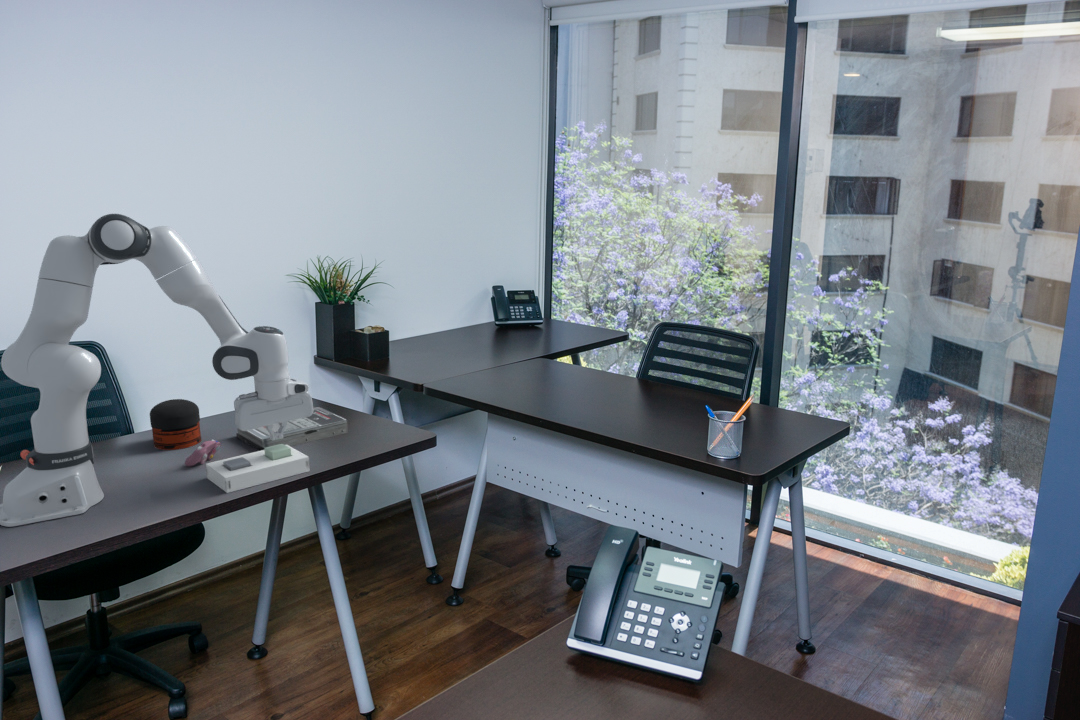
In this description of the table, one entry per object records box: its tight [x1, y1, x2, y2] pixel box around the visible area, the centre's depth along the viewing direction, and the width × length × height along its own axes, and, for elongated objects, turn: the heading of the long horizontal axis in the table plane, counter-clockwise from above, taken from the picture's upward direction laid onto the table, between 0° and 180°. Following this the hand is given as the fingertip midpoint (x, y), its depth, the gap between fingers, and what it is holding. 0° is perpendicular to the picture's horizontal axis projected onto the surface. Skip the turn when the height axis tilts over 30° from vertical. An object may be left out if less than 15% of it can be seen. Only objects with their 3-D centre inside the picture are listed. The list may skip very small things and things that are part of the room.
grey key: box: [223, 457, 251, 471], centre depth 206 cm, size 5×5×3 cm
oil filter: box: [149, 398, 202, 451], centre depth 233 cm, size 13×12×13 cm
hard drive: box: [236, 406, 349, 451], centre depth 241 cm, size 18×27×4 cm
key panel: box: [205, 445, 311, 494], centre depth 210 cm, size 22×13×4 cm, turn 132°
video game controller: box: [184, 439, 222, 467], centre depth 219 cm, size 10×5×7 cm, turn 169°
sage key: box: [264, 444, 291, 461], centre depth 213 cm, size 5×5×3 cm
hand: (276, 439), depth 212 cm, fingers closed
